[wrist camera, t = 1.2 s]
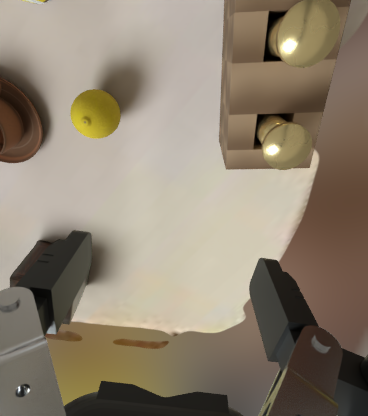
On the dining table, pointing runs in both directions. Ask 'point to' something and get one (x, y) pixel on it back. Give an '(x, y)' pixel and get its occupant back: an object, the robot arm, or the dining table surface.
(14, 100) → the cup and saucer
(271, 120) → the far peg
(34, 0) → the supplement bottle
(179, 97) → the dining table surface
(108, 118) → the lemon
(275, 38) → the near peg
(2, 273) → the dining table surface
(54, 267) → the robot arm
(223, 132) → the brown wooden block
